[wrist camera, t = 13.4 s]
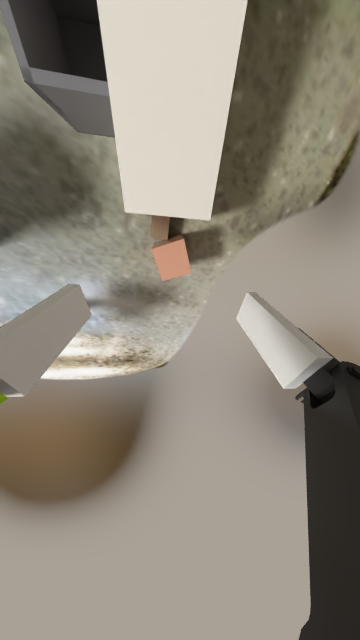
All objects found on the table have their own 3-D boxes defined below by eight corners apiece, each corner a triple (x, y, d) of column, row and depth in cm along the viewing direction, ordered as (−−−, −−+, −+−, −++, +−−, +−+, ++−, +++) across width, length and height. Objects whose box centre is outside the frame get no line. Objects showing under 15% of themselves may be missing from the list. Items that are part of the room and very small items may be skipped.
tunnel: (44, -11, 11) (-132, -334, 5) (220, 31, 12) (275, -168, 6) (96, 210, 19) (60, 206, 13) (197, 220, 21) (210, 220, 14)
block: (154, 242, 22) (151, 249, 18) (180, 234, 22) (184, 238, 17) (163, 269, 25) (162, 281, 20) (187, 262, 24) (191, 272, 20)
